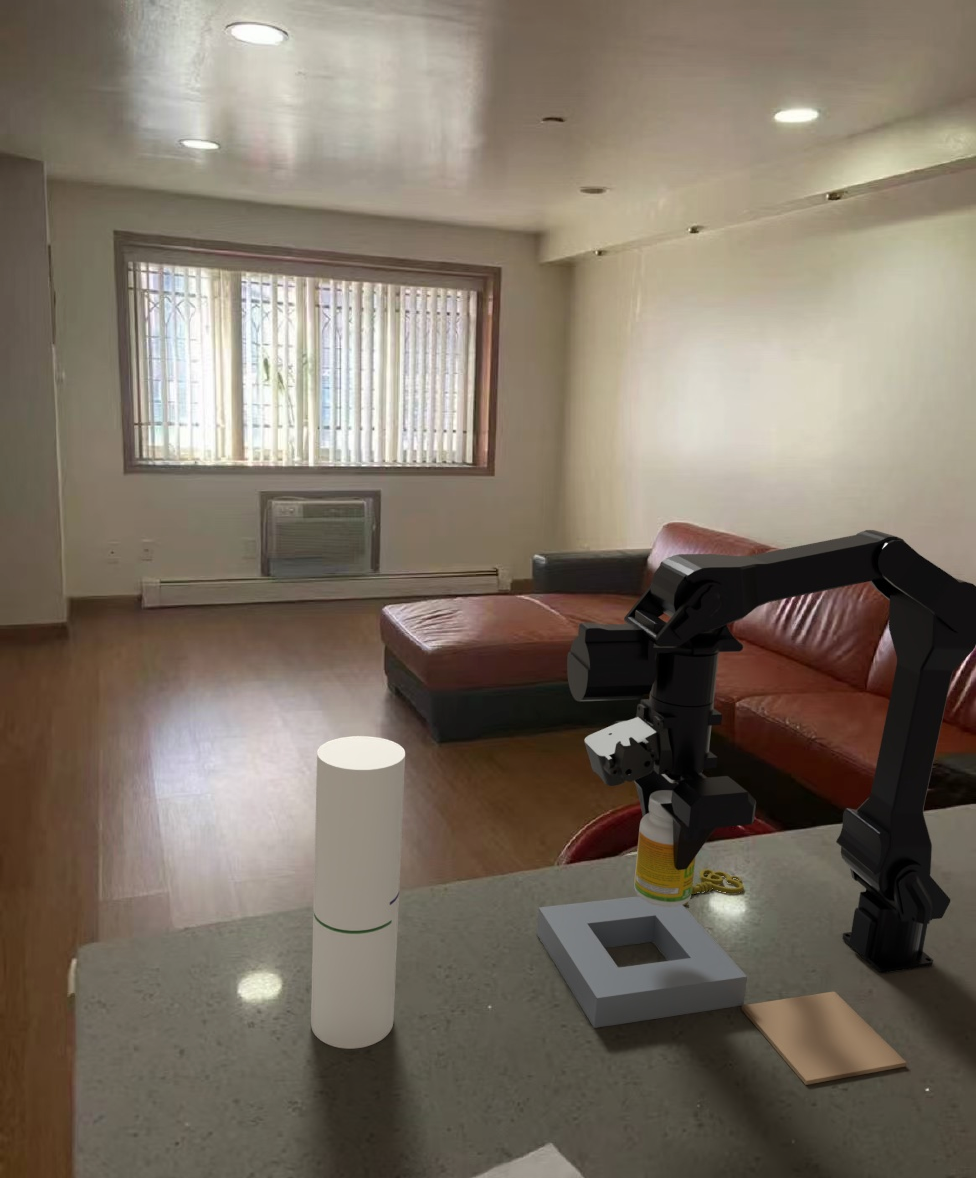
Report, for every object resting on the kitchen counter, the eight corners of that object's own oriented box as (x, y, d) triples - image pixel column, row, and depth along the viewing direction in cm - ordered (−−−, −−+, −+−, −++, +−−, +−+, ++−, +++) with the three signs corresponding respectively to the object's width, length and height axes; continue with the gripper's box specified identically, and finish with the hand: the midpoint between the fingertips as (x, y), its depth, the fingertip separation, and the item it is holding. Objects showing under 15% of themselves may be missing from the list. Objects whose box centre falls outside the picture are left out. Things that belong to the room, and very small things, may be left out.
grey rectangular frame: (668, 917, 105) (671, 892, 105) (743, 1004, 91) (747, 976, 91) (536, 933, 101) (538, 907, 100) (594, 1027, 87) (596, 997, 86)
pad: (833, 994, 94) (834, 991, 94) (905, 1066, 84) (906, 1062, 84) (741, 1009, 91) (741, 1005, 91) (805, 1084, 81) (806, 1080, 81)
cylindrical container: (406, 1007, 88) (418, 745, 83) (371, 1057, 81) (382, 776, 76) (335, 987, 90) (342, 730, 85) (295, 1034, 84) (300, 759, 78)
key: (672, 902, 107) (644, 881, 111) (671, 913, 107) (643, 891, 111) (754, 883, 112) (724, 863, 116) (753, 894, 112) (723, 873, 117)
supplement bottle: (690, 912, 90) (701, 814, 88) (631, 903, 91) (640, 806, 89) (691, 883, 95) (701, 790, 93) (635, 875, 96) (643, 783, 94)
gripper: (561, 668, 95) (551, 817, 99) (645, 740, 78) (629, 917, 81) (666, 663, 99) (652, 807, 102) (768, 731, 81) (748, 902, 85)
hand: (666, 853), depth 92 cm, fingers closed on supplement bottle, 5 cm apart
